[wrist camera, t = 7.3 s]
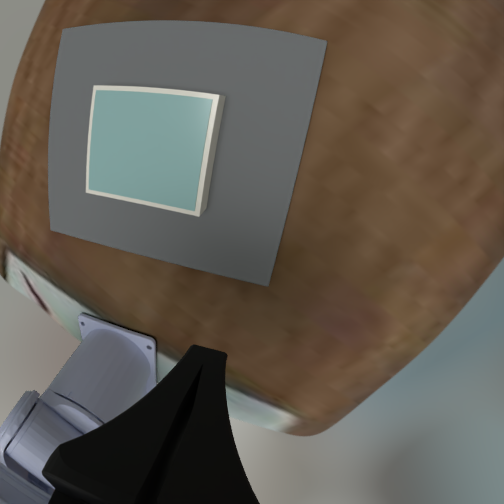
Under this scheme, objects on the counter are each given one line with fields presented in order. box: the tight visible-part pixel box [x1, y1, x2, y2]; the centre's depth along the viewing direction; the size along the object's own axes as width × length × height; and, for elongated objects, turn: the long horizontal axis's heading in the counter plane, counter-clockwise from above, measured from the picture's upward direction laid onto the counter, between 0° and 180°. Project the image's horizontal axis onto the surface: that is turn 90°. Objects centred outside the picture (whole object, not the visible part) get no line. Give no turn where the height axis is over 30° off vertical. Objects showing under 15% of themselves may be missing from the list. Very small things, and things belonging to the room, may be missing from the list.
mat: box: [48, 21, 327, 286], centre depth 18 cm, size 16×18×1 cm
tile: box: [86, 85, 226, 217], centre depth 17 cm, size 7×2×8 cm
